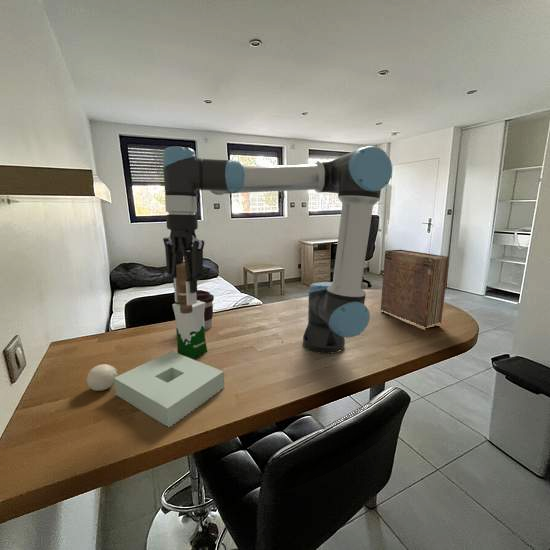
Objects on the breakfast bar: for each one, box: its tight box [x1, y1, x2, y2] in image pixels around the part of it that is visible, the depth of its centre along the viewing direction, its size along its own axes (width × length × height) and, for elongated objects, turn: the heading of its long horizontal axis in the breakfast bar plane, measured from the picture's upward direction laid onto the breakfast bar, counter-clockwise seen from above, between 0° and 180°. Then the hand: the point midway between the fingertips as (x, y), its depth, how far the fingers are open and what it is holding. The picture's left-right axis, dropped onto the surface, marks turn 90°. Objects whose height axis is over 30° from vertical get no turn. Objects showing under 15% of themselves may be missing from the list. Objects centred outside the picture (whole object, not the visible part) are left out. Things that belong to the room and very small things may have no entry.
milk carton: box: [172, 300, 208, 360], centre depth 97 cm, size 9×9×20 cm
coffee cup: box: [196, 290, 215, 331], centre depth 120 cm, size 10×10×15 cm
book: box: [380, 249, 450, 327], centre depth 127 cm, size 25×9×30 cm, turn 23°
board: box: [113, 350, 225, 428], centre depth 78 cm, size 22×18×5 cm
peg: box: [176, 262, 192, 314], centre depth 77 cm, size 4×4×13 cm
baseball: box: [86, 363, 119, 392], centre depth 79 cm, size 7×7×7 cm
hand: (185, 302), depth 78 cm, fingers closed on peg, 4 cm apart
